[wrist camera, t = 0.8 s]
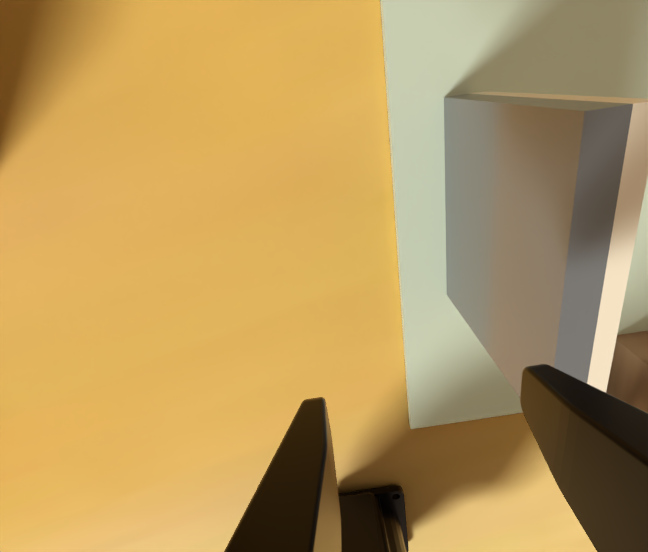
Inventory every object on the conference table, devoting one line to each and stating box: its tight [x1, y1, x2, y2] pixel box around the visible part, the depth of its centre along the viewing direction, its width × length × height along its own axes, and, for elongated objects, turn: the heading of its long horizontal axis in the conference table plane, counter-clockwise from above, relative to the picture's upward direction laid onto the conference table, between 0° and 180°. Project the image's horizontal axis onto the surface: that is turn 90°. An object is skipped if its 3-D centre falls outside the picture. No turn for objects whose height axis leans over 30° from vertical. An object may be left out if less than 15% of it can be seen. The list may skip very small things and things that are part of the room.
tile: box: [444, 91, 648, 397], centre depth 15 cm, size 9×2×9 cm, turn 8°
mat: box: [380, 0, 648, 429], centre depth 20 cm, size 22×17×1 cm
